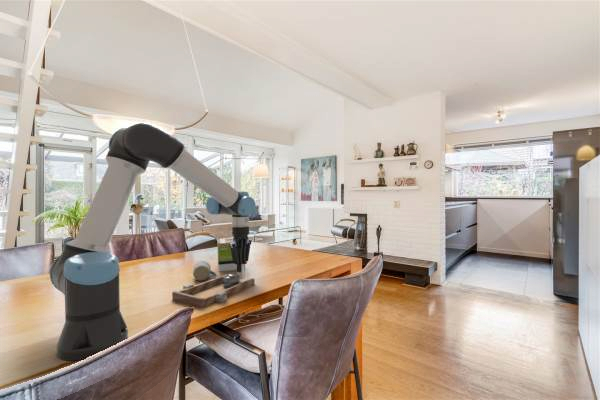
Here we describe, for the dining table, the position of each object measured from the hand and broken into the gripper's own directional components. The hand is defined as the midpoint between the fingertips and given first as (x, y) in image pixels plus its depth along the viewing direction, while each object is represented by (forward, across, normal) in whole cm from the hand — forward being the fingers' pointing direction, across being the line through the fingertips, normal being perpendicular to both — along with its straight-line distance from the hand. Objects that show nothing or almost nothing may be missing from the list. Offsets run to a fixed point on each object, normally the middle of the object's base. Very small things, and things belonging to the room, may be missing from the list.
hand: (241, 278), depth 130 cm
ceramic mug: (+2, -4, +18) cm, 19 cm away
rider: (+2, -6, 0) cm, 6 cm away
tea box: (+2, +16, +23) cm, 28 cm away
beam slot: (+1, -14, 0) cm, 14 cm away
